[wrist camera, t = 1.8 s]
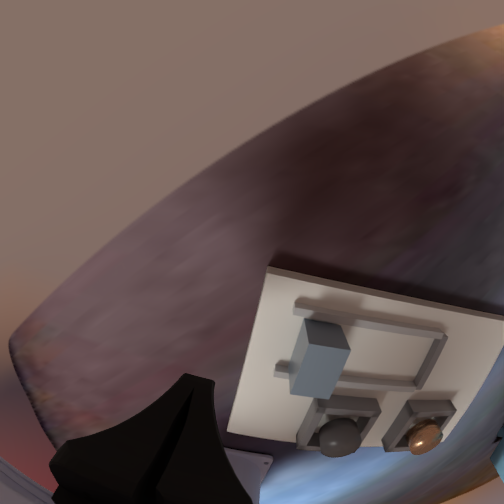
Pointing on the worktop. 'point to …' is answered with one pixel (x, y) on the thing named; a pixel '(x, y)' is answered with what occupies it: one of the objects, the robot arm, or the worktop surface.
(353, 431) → the black button
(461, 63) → the worktop surface
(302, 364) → the block
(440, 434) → the copper button
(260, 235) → the worktop surface
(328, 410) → the control panel
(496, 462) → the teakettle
